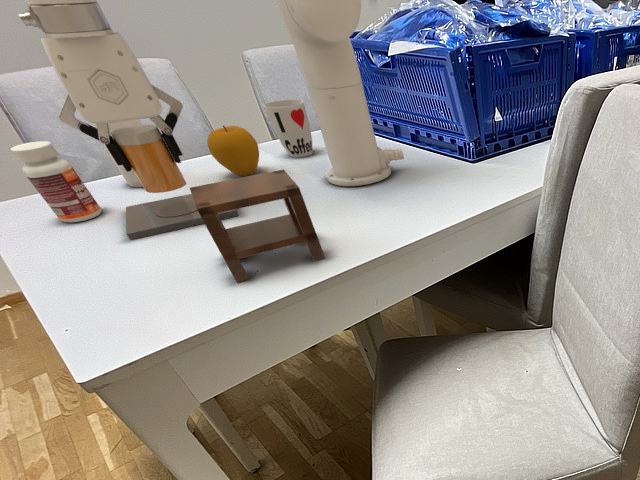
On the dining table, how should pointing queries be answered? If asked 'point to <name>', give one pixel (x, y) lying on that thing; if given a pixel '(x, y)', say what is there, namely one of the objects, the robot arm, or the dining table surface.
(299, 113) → the cup
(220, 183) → the rack
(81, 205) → the pill bottle
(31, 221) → the dining table surface
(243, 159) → the apple
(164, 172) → the honey jar
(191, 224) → the hob
